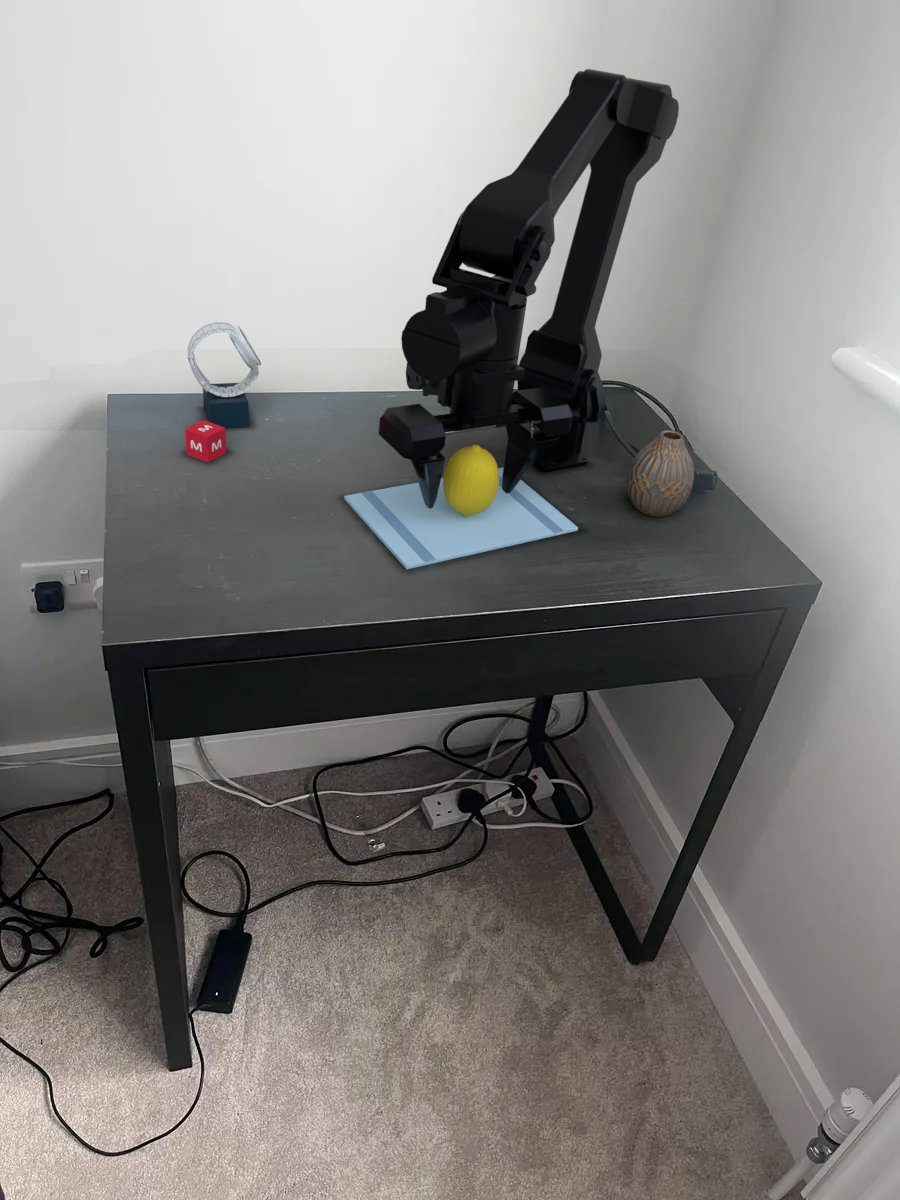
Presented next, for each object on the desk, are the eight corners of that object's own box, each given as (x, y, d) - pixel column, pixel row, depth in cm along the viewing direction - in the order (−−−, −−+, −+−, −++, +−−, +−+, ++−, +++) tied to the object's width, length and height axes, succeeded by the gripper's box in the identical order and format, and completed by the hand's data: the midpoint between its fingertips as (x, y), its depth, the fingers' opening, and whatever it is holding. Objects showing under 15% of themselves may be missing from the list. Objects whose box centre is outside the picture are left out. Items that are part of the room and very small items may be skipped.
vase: (615, 513, 98) (633, 439, 93) (627, 486, 104) (645, 415, 99) (678, 530, 97) (700, 456, 92) (688, 502, 102) (709, 430, 97)
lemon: (488, 534, 91) (499, 462, 87) (434, 523, 92) (442, 451, 87) (497, 508, 96) (508, 438, 91) (445, 498, 96) (453, 428, 92)
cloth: (505, 469, 104) (505, 466, 104) (577, 530, 95) (578, 527, 94) (344, 499, 95) (344, 495, 95) (406, 569, 85) (407, 565, 85)
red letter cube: (204, 444, 101) (203, 419, 100) (226, 452, 100) (225, 427, 99) (186, 454, 99) (184, 428, 97) (208, 462, 98) (206, 437, 96)
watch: (265, 426, 107) (264, 333, 100) (195, 430, 104) (189, 335, 98) (256, 406, 111) (255, 316, 105) (188, 409, 108) (182, 317, 102)
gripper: (523, 312, 93) (502, 451, 102) (357, 327, 85) (350, 476, 94) (589, 352, 86) (560, 498, 95) (413, 373, 77) (400, 530, 86)
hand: (468, 498), depth 93 cm, fingers open, 9 cm apart
